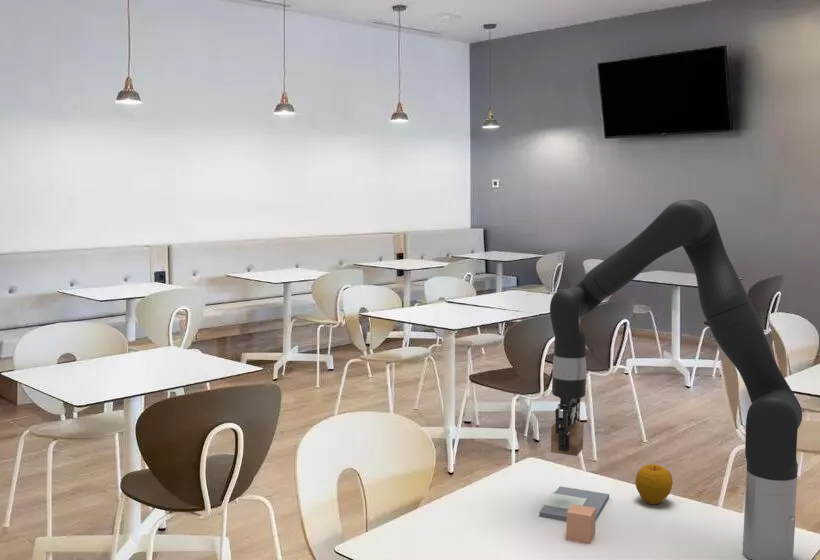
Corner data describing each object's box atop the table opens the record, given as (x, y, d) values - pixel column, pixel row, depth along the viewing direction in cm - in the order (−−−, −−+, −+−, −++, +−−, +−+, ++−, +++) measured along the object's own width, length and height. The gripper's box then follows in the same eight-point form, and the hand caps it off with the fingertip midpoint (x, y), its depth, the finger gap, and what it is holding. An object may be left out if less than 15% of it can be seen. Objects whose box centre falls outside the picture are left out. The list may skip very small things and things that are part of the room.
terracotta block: (595, 535, 172) (595, 507, 172) (589, 544, 168) (590, 516, 167) (571, 530, 175) (572, 504, 174) (566, 539, 170) (566, 512, 169)
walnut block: (582, 448, 188) (583, 423, 187) (576, 455, 182) (577, 429, 182) (557, 445, 190) (558, 420, 190) (550, 452, 185) (551, 426, 184)
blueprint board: (609, 498, 193) (609, 492, 193) (592, 525, 177) (592, 519, 177) (559, 490, 198) (559, 485, 198) (539, 516, 182) (539, 510, 182)
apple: (677, 509, 187) (679, 472, 186) (640, 509, 187) (642, 471, 186) (665, 495, 195) (667, 460, 194) (630, 495, 195) (631, 459, 194)
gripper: (578, 383, 176) (575, 458, 178) (592, 370, 189) (590, 440, 191) (544, 379, 180) (542, 453, 181) (560, 367, 193) (559, 436, 194)
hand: (567, 446), depth 186 cm, fingers closed on walnut block, 6 cm apart
